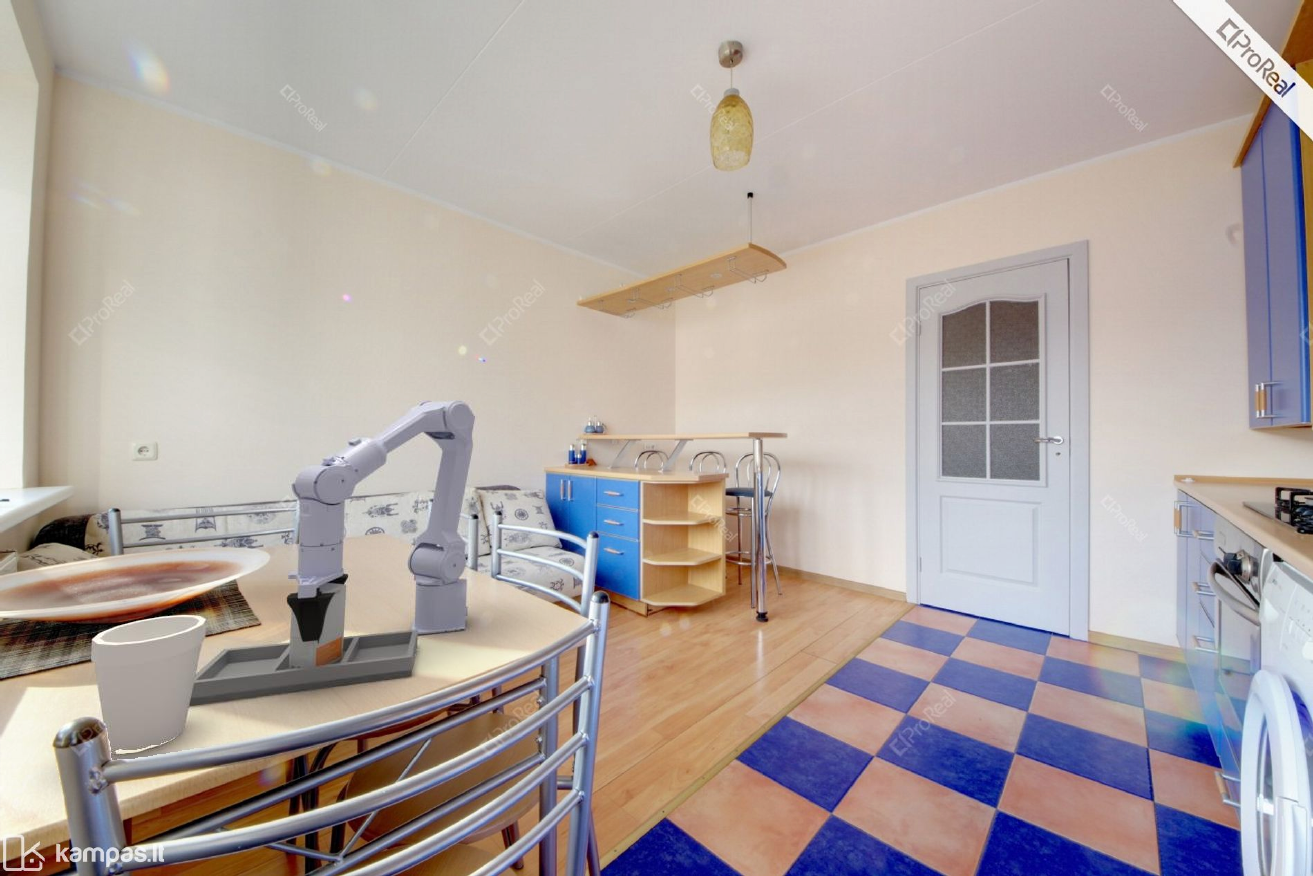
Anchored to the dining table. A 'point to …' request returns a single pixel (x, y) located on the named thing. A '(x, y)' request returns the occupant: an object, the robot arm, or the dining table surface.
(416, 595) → the robot arm
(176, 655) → the foam cup
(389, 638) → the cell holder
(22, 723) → the dining table surface
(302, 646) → the skincare box
